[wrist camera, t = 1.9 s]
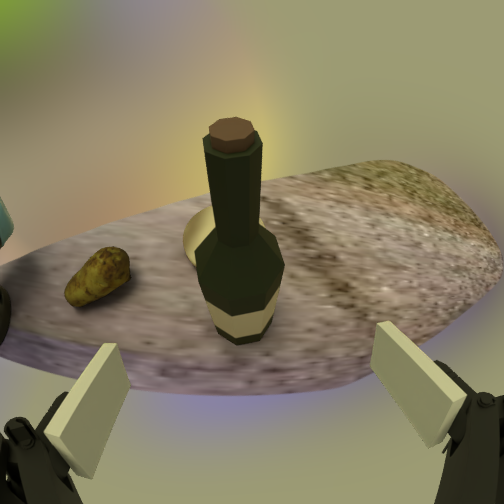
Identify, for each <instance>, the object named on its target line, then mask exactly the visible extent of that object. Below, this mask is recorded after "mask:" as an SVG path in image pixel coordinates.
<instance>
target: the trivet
mask: <svg viewBox="0 0 504 504" xmlns="http://www.w3.org/2000/svg"><path fill="white" fill-rule="evenodd" d="M259 224H260V225H262V226H263V227H264V228H265V226H264V224H263V222H262V220H261V219H260V218H259ZM214 228H215V221H214V215H213V208H212V206H210V207H207V208H205V209H203V210H201V211H200V212H198V213H197V214H196V215H195V216H193V218H192V219H191V220H190V221H189V223H188V224H187V226H186V228H185V231H184V235H183V245H184V249H185V252H186V254H187V256H188V258H189V260H190V261H191V263H192V264H193V265H194V266H195V267H196V261H195V253H194V251H195V249H196V248H197V247H198V246H199V245H200V244H201V242H202V241H203V240H204V239H205V238H206V237H207V236H208V234H209V233H210V232H211V231H212V230H213V229H214Z"/></svg>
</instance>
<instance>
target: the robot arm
mask: <svg viewBox="0 0 504 504" xmlns="http://www.w3.org/2000/svg"><path fill="white" fill-rule="evenodd" d="M13 230H14V225H13V221H12V219H11V217H10V215H9V213H8V211H7V209H6V207H5V205H4V203H3V201H2V200H1V197H0V249H1V247H3V246H4V243H5V242H6V241H7V239H8V238H9V237H10V236H11V234H12V233H13ZM10 314H11V304H10V298H9V295H8V293H7V291H6V290H5V289H4V288H3V287H2V286H0V344H1V343H2V341H3V339H4V337H5V335H6V332H7V329H8V326H9V321H10ZM370 367H371V368H372V370H373V371H374V373H375V374H376V375H377V377H378V378H379V379H380V381H381V382H382V384H383V385H384V386H385V388H386V389H387V390H388V392H389V393H390V395H391V396H392V397H393V399H394V400H395V402H396V403H397V404H398V406H399V407H400V408H401V410H402V411H403V413H404V414H405V416H406V417H407V418H408V420H409V421H410V423H411V424H412V425H413V427H414V429H415V430H416V431H417V433H418V434H419V436H420V437H421V439H422V440H423V441H424V443H425V444H426V446H427V447H428V449H429V448H431V447H433V446H435V445H437V444H439V443H441V442H442V441H443V439H444V438H445V436H446V434H447V433H449V435H450V436H451V438H450V440H449V441H448V443H447V445H446V446H445V448H444V449H443V452H442V453H445V451H446V449H447V454H446V459H445V464H444V469H443V473H442V477H441V481H440V485H439V489H438V493H437V496H436V499H435V503H434V504H504V395H502V396H498V397H494V396H493V395H492V394H490V393H486V392H479V393H476V392H475V391H474V390H472V388H471V387H469V386H468V385H467V384H466V383H465V382H464V381H463V380H462V379H461V378H460V377H458V375H457V374H456V373H455V372H453V371H452V370H451V369H450V368H449V367H448V366H447V365H446V364H444V363H442V362H440V361H438V360H436V361H432V360H431V359H430V358H429V357H428V356H427V355H426V354H425V353H423V352H422V351H421V350H420V349H419V348H418V347H417V346H416V345H415V344H414V343H413V342H412V341H411V340H410V339H409V338H407V337H406V336H405V335H404V334H403V333H402V332H401V331H400V330H399V329H398V328H397V327H395V326H394V325H393V324H392V323H391V322H390V321H386V322H381V323H377V326H376V333H375V339H374V345H373V351H372V357H371V362H370ZM130 386H131V385H130V382H129V379H128V376H127V373H126V370H125V367H124V364H123V361H122V358H121V355H120V352H119V349H118V345H117V343H104V344H103V345H102V347H101V348H100V349H99V351H98V352H97V353H96V355H95V356H94V358H93V359H92V360H91V362H90V363H89V365H88V366H87V367H86V369H85V370H84V372H83V373H82V374H81V376H80V377H79V379H78V380H77V382H76V383H75V385H74V386H73V387H72V389H71V390H70V392H64V393H62V394H61V395H60V396H58V397H57V398H56V400H55V401H54V402H53V404H52V406H51V407H50V408H49V410H48V412H47V413H46V414H45V416H44V417H43V419H42V420H41V422H40V423H39V425H38V426H37V428H36V429H35V430H34V428H33V427H32V425H31V424H30V422H29V421H28V420H27V419H26V418H23V417H15V418H13V419H10V420H9V421H8V422H7V423H6V425H5V427H4V432H5V434H6V435H7V436H8V438H9V439H5V438H4V437H3V436H2V434H1V433H0V504H83V503H82V501H81V498H80V496H79V494H78V492H77V490H76V488H75V485H74V483H73V481H72V479H71V476H70V475H69V474H68V471H69V469H70V468H71V469H72V470H73V471H74V472H75V473H76V475H78V476H81V477H85V478H88V479H93V476H94V473H95V471H96V468H97V465H98V463H99V460H100V457H101V455H102V453H103V450H104V447H105V445H106V442H107V440H108V437H109V435H110V433H111V430H112V427H113V425H114V423H115V421H116V418H117V416H118V414H119V411H120V409H121V407H122V404H123V402H124V400H125V398H126V395H127V393H128V391H129V389H130ZM6 475H7V476H8V479H7V480H6Z"/></svg>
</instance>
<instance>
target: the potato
mask: <svg viewBox="0 0 504 504" xmlns="http://www.w3.org/2000/svg"><path fill="white" fill-rule="evenodd" d="M129 266H130V261H129V256H128V254H127V253H126V252H125V251H124V250H122V249H120V248H117V247H114V246H113V247H105V248H102V249H100V250H99V251H97V252H96V253H95V254H94V255H93V256H92V257H90V259H89V260H88V261H87V262H86V263H85V264H84V266H83V267H82V268H81V269H80V270H79V271H78V272H77V273H76V274H75V275H74V276H73V277H72V279H71V280H70V281H69V282H68V284H67V286H66V288H65V292H64V294H65V298H66V300H67V302H68V303H69V304H70V305H71V306H76V307H81V306H83V305H85V304H89V303H91V302H92V301H95V300H97V299H100V298H102V297H104V296H106V295H107V294H108V293H110V292H111V291H113V290H114V289H116V288H117V287H119V286H121V285H122V284H123V283H124V282H127V281H129V280H130V279H131V277H130V276H131V275H130V268H129Z"/></svg>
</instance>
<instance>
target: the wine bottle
mask: <svg viewBox="0 0 504 504" xmlns="http://www.w3.org/2000/svg"><path fill="white" fill-rule="evenodd" d="M209 132H210V133H209V134H208V135H207V136H205V137H204V138H203V146H204V153H205V160H206V167H207V174H208V182H209V188H210V195H211V202H212V208H213V215H214V221H215V228H214V229H213V230H212V231H211V232H210V233H209V234H208V236H207V237H206V238H205V239H204V240H203V241H202V242H201V244H200V245H199V246H198V247H197V248H196V249H195V251H194V253H195V261H196V268H197V275H198V282H199V284H200V287H201V290H202V293H203V295H204V298H205V301H206V303H207V306H208V309H209V311H210V314H211V317H212V319H213V322H214V324H215V327H216V330H217V332H218V334H220V335H221V336H223V337H224V338H226V339H227V340H229V341H231V342H232V343H234V344H235V345H242V344H247V343H252V342H257V341H260V339H261V338H262V336H263V335H264V333H265V332H266V330H267V329H268V327H269V326H270V324H271V322H272V318H273V314H274V310H275V306H276V301H277V297H278V293H279V288H280V284H281V280H282V275H283V271H284V266H285V264H284V261H283V258H282V255H281V252H280V249H279V246H278V243H277V240H276V237H275V235H273V234H272V233H271V232H269V231H268V230H267V229H266V228H264V227H263V226H262V225H260V224H259V214H260V192H261V169H262V146H263V145H262V144H263V143H262V141H261V139H260V137H259V135H258V132H257V131H255V130H254V128H253V125H252V124H251V122H250V121H248V120H245V119H241V118H238V117H233V118H225V119H219V120H218V121H216V122H215V123H214V124H212V125H211V126H209Z"/></svg>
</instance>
